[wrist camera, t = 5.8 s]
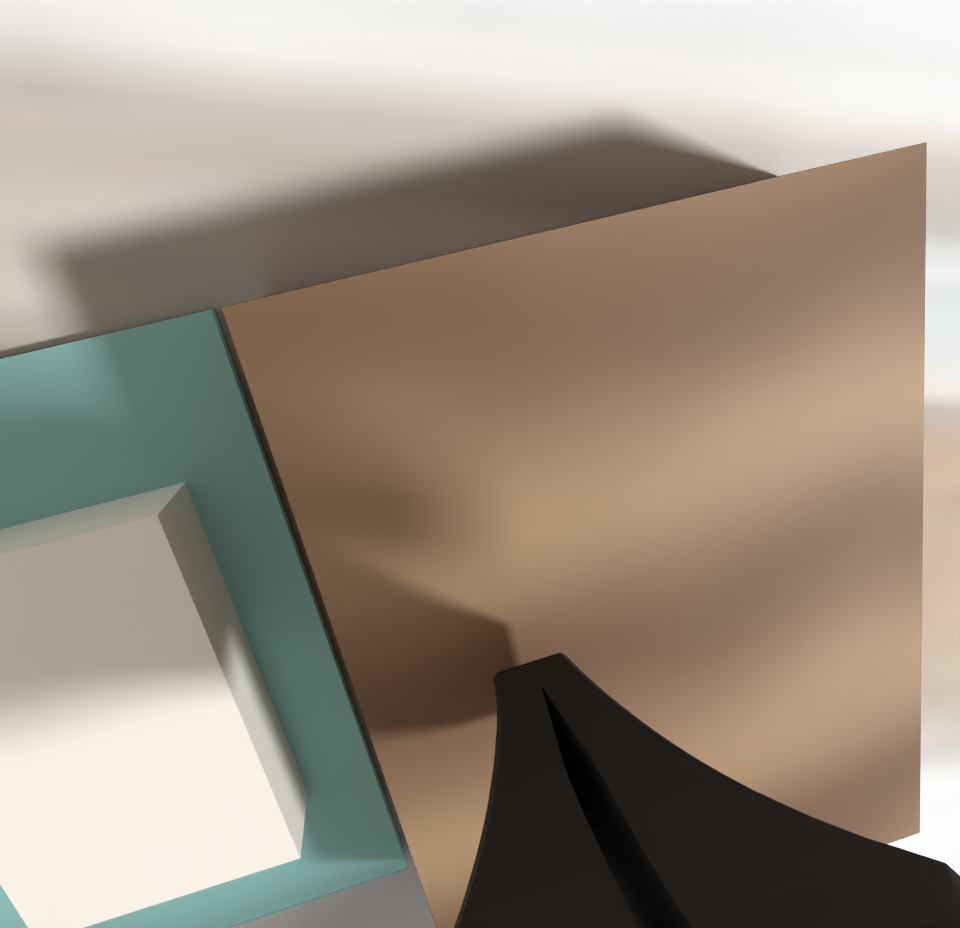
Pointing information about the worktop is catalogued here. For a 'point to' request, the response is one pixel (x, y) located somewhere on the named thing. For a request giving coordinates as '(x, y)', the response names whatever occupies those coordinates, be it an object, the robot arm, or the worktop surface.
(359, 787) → the mat
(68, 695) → the cream white block
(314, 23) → the worktop surface
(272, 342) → the board
